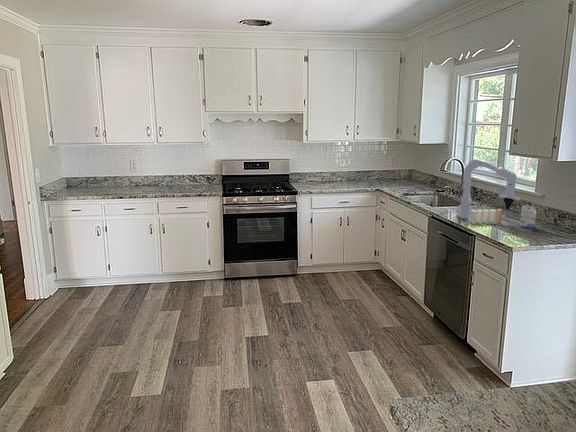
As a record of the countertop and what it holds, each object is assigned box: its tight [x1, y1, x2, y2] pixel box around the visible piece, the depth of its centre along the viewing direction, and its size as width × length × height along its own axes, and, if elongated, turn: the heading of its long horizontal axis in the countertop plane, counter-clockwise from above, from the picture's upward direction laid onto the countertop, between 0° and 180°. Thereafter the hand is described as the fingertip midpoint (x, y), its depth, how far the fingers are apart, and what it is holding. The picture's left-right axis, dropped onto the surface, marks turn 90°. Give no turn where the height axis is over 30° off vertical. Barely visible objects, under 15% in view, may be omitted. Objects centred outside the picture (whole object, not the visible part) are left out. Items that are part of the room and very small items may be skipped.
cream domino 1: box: [469, 209, 477, 225], centre depth 296 cm, size 5×2×9 cm, turn 10°
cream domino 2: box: [476, 209, 484, 225], centre depth 297 cm, size 5×2×9 cm, turn 10°
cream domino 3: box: [482, 208, 490, 225], centre depth 298 cm, size 5×2×9 cm, turn 10°
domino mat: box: [464, 219, 510, 226], centre depth 301 cm, size 12×29×1 cm, turn 99°
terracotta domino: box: [496, 208, 503, 223], centre depth 300 cm, size 5×2×9 cm, turn 172°
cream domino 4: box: [489, 208, 497, 223], centre depth 299 cm, size 5×2×9 cm, turn 10°
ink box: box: [518, 205, 537, 229], centre depth 290 cm, size 8×5×15 cm, turn 47°
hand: (507, 209), depth 300 cm, fingers closed
